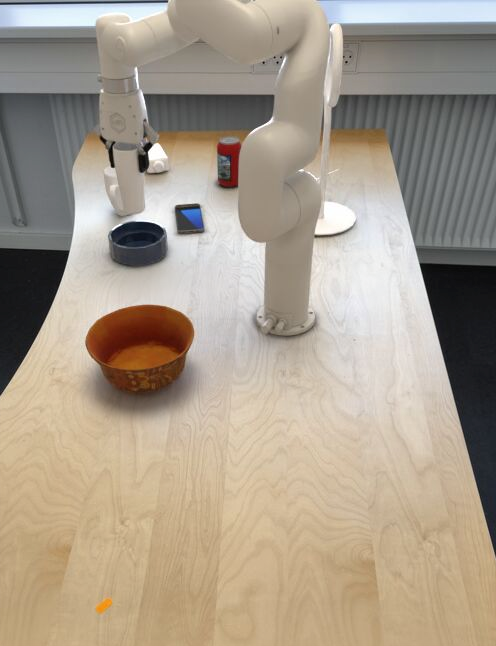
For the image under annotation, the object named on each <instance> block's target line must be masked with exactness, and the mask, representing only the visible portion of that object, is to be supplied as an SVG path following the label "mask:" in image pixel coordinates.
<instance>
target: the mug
mask: <svg viewBox="0 0 496 646" xmlns="http://www.w3.org/2000/svg"><path fill="white" fill-rule="evenodd" d="M103 179H104V186H105V193H106V195H107V198H108V200H109V202H110V204H111V206H112V207H113V209H114V211H115V213H116V214H117V215H118V216H123V217H125V216H129V215H131V214H128V213H126V212H124V210H123V205H122V199H121V194H120V189H119V184H118V180H117V175H116V170H115V168H111V165H109V166H107V167H106V168H105V169H104V170H103Z"/></svg>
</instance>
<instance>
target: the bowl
mask: <svg viewBox="0 0 496 646" xmlns="http://www.w3.org/2000/svg"><path fill="white" fill-rule="evenodd" d="M194 338H195V328H194V325H193V322H192V321H191V320H190V318H189V317H188V316H187V315H186V314H184V313H183V312H182V311H179V310H177V309H174V308H172V307H169V306H166V305H160V304H138V305H131V306H126V307H123V308H119V309H117V310H115V311H112V312H109V313H107V314H105V315H103V316H101V317H100V318H99V319H97V320H96V321H95V322H94V323H93V324H92V326H90V328H89V329H88V332H87V334H86V336H85V340H84V342H85V349H86V350H87V353H88V354H89V356H90V357H91V358H92V359H93V361H95V362H96V364H97V365H99V367H100V369H101V371H102V374H103V376H104V378H105V380H106V381H107V382H108V383H109V384H110V385H111V386H113V387H114V388H116V389H118V390H120V391H122V392H125V393H131V394H132V393H133V394H146V393H152V392H153V393H154V392H157V391H160V390H163V389H164V388H167V387H169V386H170V385H172V384H173V383H174V382H176V380H178V379H179V377H181V375H182V374H183V371H184V370H185V365H186V360H187V354H188V352H189V350H190V348H191V346H192V344H193V341H194Z"/></svg>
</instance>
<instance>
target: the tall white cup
mask: <svg viewBox="0 0 496 646" xmlns="http://www.w3.org/2000/svg"><path fill="white" fill-rule="evenodd" d="M139 154H140V152H139V150H138V148H137V146H136V144H129V143H122V142H116V143H115V144H114V145H113V158H114V165H115V170H116V175H117V180H118V184H119V189H120V194H121V199H122V205H123V210H124V212H126V213H128V214H130V215H139V214H142V213H143V212H144V211H145V210H146V192H145V191H146V190H145V189H146V188H145V185H146V184H145V172H144V173H140V171H139V161H138V155H139Z"/></svg>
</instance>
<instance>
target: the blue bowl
mask: <svg viewBox="0 0 496 646" xmlns="http://www.w3.org/2000/svg"><path fill="white" fill-rule="evenodd" d="M107 239H108V247H109V253H110V257H111V258H112V259H113V260H114V261H115V262H116V263H117V262H118V263H119V264H121V265H122V264H123V265H127V266H145V265H148V264H152V263H155V262H158V261H160V260H161V259H163V258H164V257H165V256H166V255H167V254H168V250H169V244H168V232H167V229H166V227H165V226H164V225H162V224H160V223H159V222H156V221H153V220H146V219H145V220H144V219H143V220H142V219H139V220H138V219H137V220H129V221H125V222H123V223H119V224H118V225H116V226H114V227H112V228H111V229H110V231H109V233H108V234H107Z"/></svg>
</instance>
